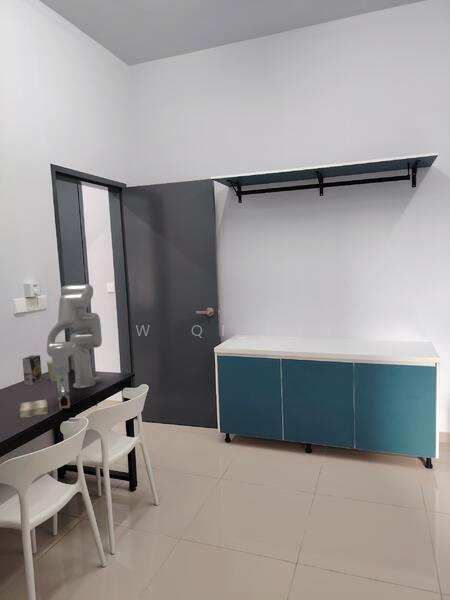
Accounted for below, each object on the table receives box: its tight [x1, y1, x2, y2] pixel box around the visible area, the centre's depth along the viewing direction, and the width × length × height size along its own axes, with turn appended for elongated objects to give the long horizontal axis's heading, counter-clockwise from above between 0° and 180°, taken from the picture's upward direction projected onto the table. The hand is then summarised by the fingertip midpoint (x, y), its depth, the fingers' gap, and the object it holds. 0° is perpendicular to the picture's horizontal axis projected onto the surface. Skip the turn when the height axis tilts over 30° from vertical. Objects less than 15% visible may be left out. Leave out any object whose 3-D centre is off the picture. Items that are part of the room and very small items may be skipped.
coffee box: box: [21, 354, 43, 386], centre depth 259 cm, size 9×6×16 cm
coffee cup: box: [46, 359, 57, 382], centre depth 264 cm, size 9×9×12 cm
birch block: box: [19, 398, 49, 419], centre depth 210 cm, size 12×12×4 cm
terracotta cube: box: [57, 395, 71, 410], centre depth 215 cm, size 5×5×5 cm
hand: (64, 402), depth 215 cm, fingers open, 9 cm apart
